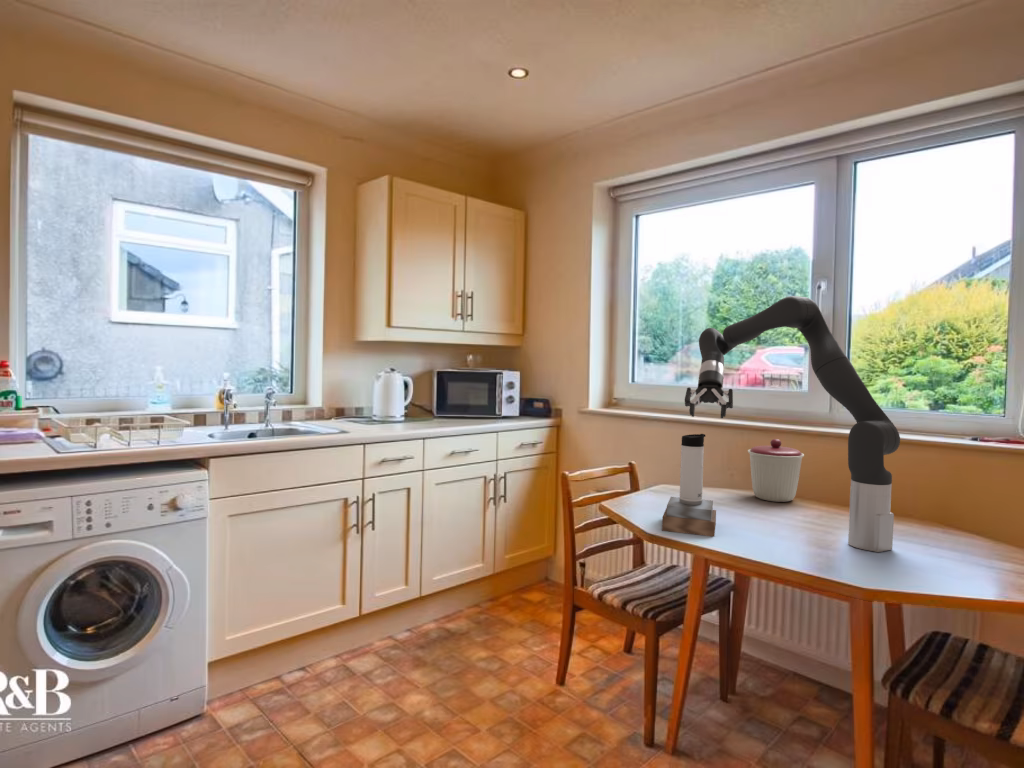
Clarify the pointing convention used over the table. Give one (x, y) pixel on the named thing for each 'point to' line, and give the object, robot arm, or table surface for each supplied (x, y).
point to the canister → (775, 471)
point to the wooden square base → (689, 517)
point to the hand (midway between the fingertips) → (707, 415)
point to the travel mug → (691, 469)
